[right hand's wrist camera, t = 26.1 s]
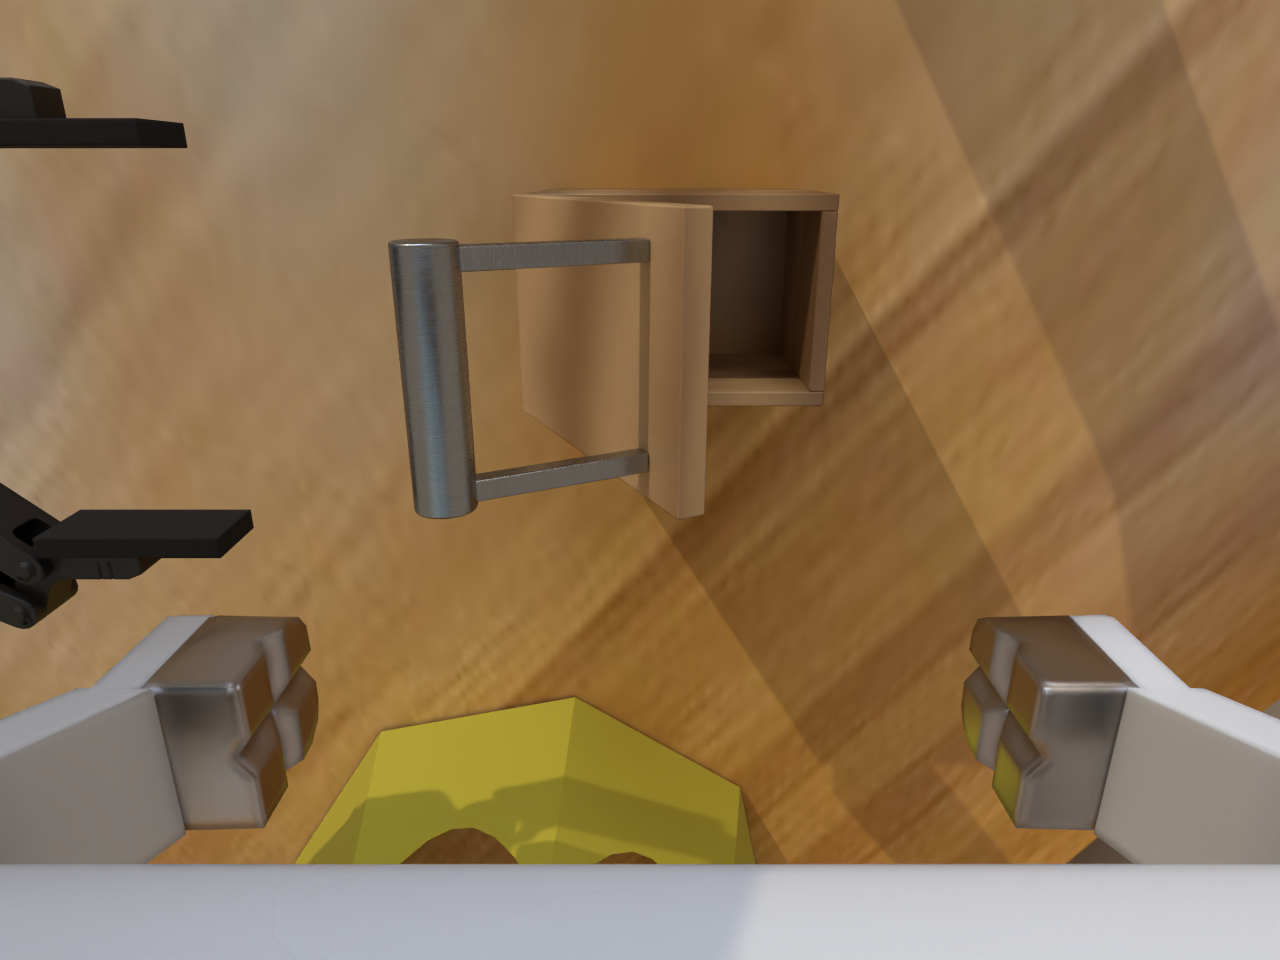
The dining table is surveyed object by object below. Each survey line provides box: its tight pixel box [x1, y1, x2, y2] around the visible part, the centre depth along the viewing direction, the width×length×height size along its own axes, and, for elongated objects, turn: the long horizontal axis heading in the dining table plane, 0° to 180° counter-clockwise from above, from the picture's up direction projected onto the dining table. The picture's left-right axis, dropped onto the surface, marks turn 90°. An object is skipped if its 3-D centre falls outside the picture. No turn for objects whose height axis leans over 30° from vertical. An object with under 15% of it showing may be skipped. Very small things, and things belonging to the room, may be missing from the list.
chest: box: [527, 189, 839, 406], centre depth 43 cm, size 14×10×10 cm
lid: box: [388, 194, 713, 520], centre depth 30 cm, size 15×10×9 cm
